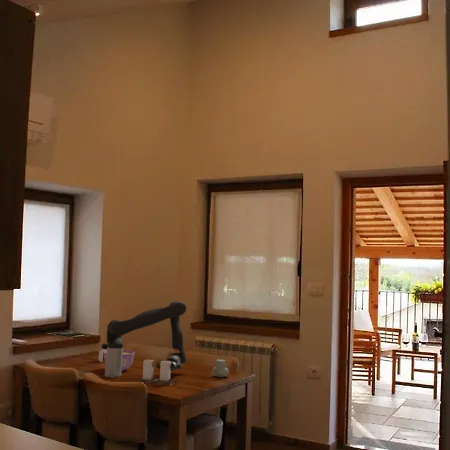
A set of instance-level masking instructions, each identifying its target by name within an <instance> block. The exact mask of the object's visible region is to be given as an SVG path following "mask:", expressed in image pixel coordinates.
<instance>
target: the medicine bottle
mask: <svg viewBox="0 0 450 450" xmlns="http://www.w3.org/2000/svg"><path fill="white" fill-rule="evenodd" d="M107 347H108V344H107V343H103V344H101V349H100V350H98V362H100V363H102V362H105V359H104V354H103V351H105V350H107Z"/></svg>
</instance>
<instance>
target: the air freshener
mask: <svg viewBox="0 0 450 450" xmlns="http://www.w3.org/2000/svg"><path fill="white" fill-rule="evenodd" d="M211 373H212V375H213V376H215V377H216V376H217V377H216V378H225V377H227V376H228V375H229V374H230V371H229V368H227V367H226V360H225V359H216V363H215V366H214V367H213V368H212V369H211Z"/></svg>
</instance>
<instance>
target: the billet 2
mask: <svg viewBox="0 0 450 450" xmlns="http://www.w3.org/2000/svg"><path fill="white" fill-rule="evenodd" d="M160 362H161V365H160V369H159V370H160V371H159V378H160V381H165V382H170V379H171V371H172V370H171V361H166V360H162V361H160Z"/></svg>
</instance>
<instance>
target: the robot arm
mask: <svg viewBox="0 0 450 450" xmlns="http://www.w3.org/2000/svg"><path fill="white" fill-rule="evenodd" d="M186 311H187V306H186V304H185V302H183V301H180V300H179V301H177V300H176V301H172V302H170V303H169V305H168V306H165V307H158V308H153V309H152V308H151V309H148V310H145V311H142V312H141V313H138V314H137V315H135V316H134V317H132V318H129V319H125V320H117V319H113V320H111V321H109V323H108V324H107V329H106V344H108V347H107V360H106V361H105V363H104V364H105V366H104V377H105V378H112V379H113V378H114V379H116V378H119V377H121V376H122V372H123V371H122V356H123V350H124V342H123V339H122V336H125V335H126V334H128V333H130V332H133V331H135V330H139V329H143V328H146V327H150V326H153V325H155V324H158V323H161V322H163V321H165V320H168V319H169V321H170V328H171V347H172V349H174V350H178V351H179V352H172V353H170V355H169V357H168V358H167V359H166V360H165V361H171V371H175V370H182V366H183V365H184V364H186V362H187V355H186V352H185V348H184V336H183V331H182V327H181V323H180V316H182V315H184V314H185V313H186ZM160 365H161V361H159V362H157V363H156V369H159V370H160Z"/></svg>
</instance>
